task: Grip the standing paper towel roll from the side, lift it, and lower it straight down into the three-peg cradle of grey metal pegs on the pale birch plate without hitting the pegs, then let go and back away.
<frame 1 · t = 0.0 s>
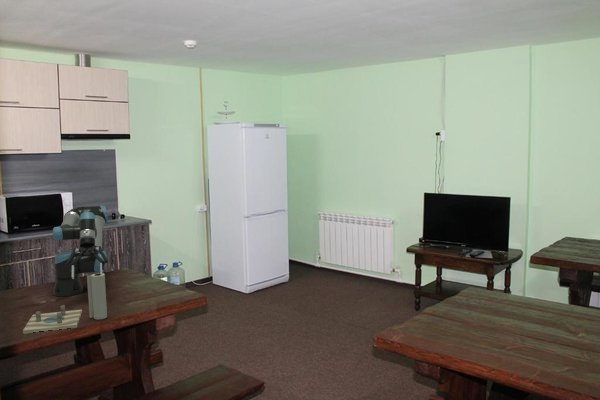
hand: (87, 276, 260), 15 cm above the table, fingers open, 13 cm apart
paper towel roll: (99, 317, 244), on the table
peg cradle: (54, 322, 238), on the table
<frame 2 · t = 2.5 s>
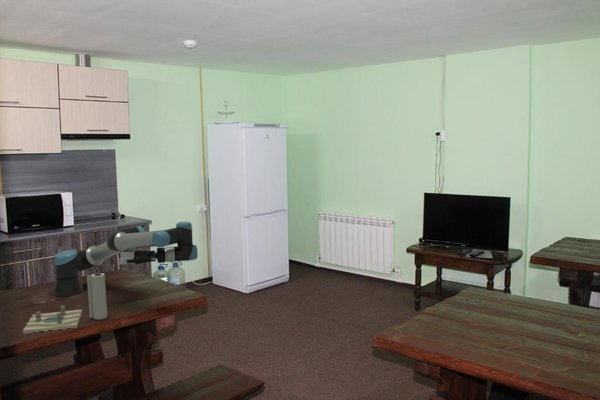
hand: (119, 258, 244), 28 cm above the table, fingers open, 13 cm apart
nothing on the table moved.
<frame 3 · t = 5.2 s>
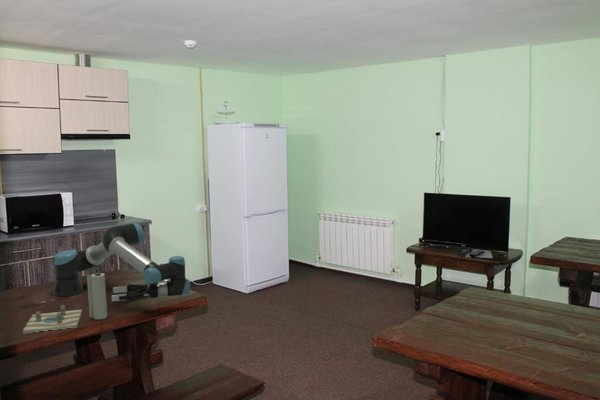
hand: (112, 294, 244), 11 cm above the table, fingers open, 13 cm apart
nothing on the table moved.
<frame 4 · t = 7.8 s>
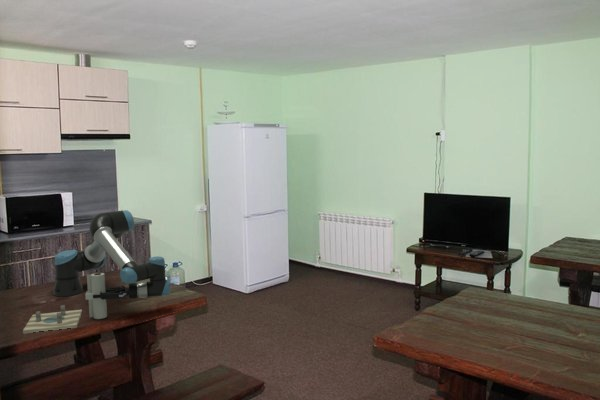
hand: (86, 295, 241), 12 cm above the table, fingers closed on paper towel roll, 3 cm apart
paper towel roll: (99, 317, 244), on the table, touching gripper
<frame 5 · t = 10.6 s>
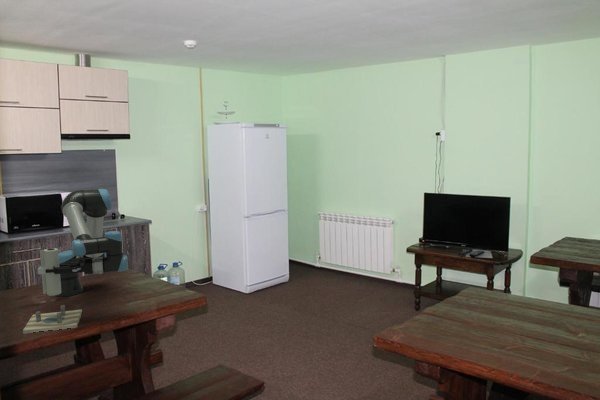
hand: (38, 270, 233), 26 cm above the table, fingers closed on paper towel roll, 3 cm apart
paper towel roll: (53, 294, 237), point 14 cm above the table, touching gripper
when the fingers open (14 cm above the table, at t = 13.6 s): paper towel roll stays where it is, resting on peg cradle.
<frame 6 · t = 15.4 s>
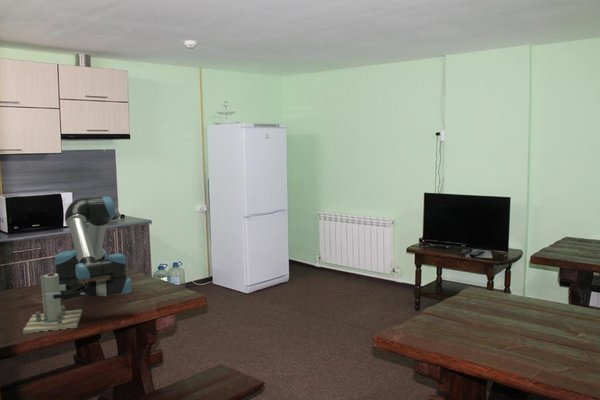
hand: (48, 292, 236), 15 cm above the table, fingers open, 13 cm apart
paper towel roll: (54, 319, 238), point 1 cm above the table, touching peg cradle
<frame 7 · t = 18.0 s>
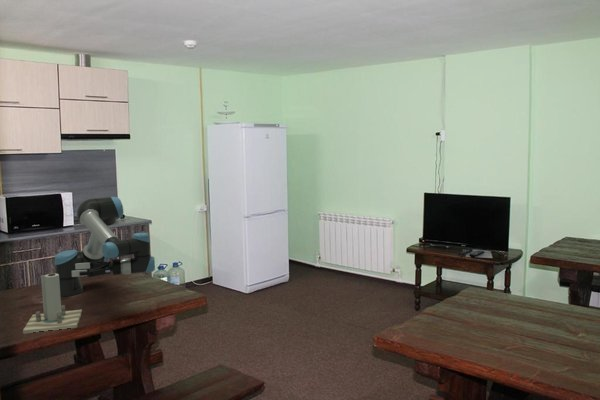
hand: (73, 270, 238), 24 cm above the table, fingers open, 13 cm apart
nothing on the table moved.
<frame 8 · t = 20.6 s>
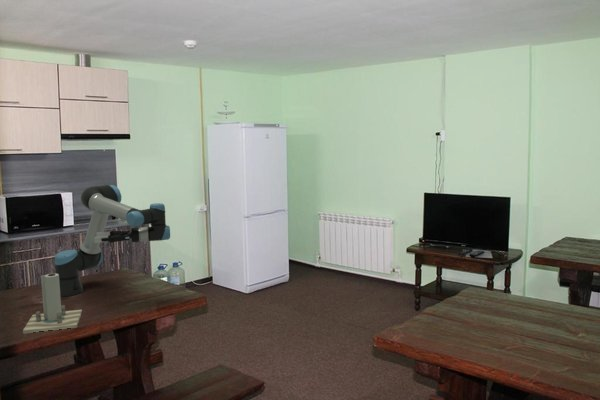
hand: (95, 237, 256), 36 cm above the table, fingers open, 13 cm apart
nothing on the table moved.
at the end: paper towel roll 0.5 cm off-centre on the peg cradle, point 1.4 cm above the peg cradle's base; paper towel roll tilted 0°; the gripper is holding nothing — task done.
